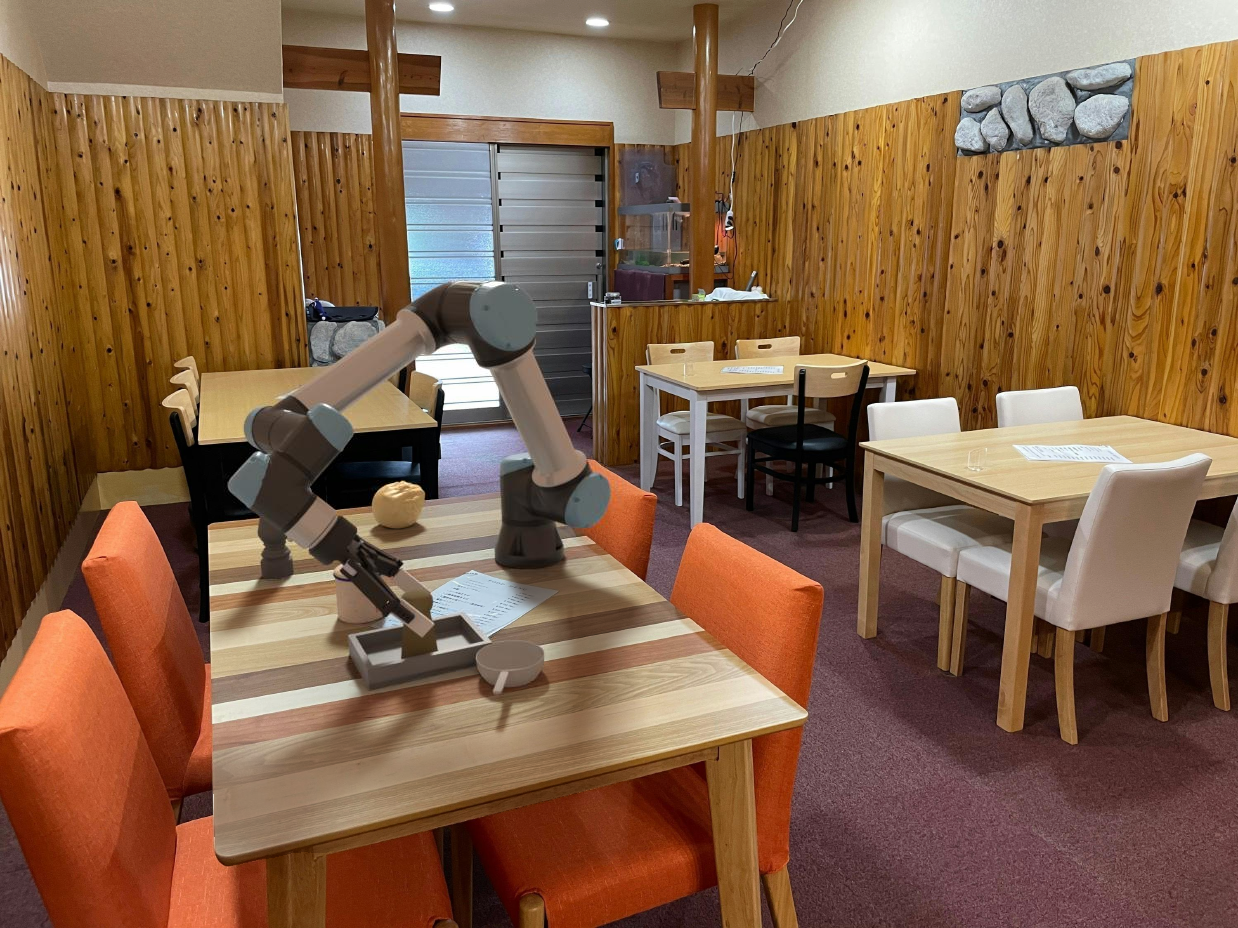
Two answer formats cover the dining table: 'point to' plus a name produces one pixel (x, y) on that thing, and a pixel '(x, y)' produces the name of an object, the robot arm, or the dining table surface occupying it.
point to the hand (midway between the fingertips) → (427, 613)
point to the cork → (411, 639)
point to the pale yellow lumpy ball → (398, 504)
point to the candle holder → (274, 552)
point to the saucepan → (510, 663)
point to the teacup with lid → (353, 601)
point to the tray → (385, 667)
